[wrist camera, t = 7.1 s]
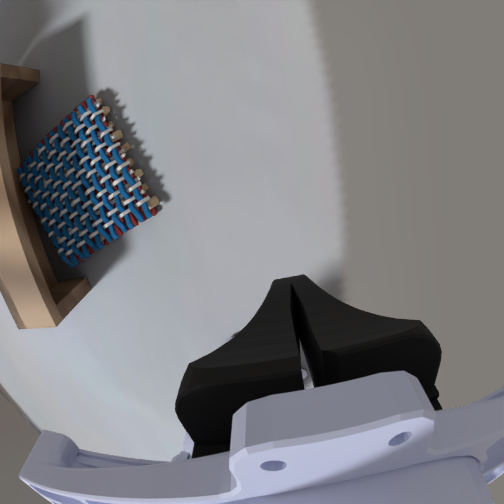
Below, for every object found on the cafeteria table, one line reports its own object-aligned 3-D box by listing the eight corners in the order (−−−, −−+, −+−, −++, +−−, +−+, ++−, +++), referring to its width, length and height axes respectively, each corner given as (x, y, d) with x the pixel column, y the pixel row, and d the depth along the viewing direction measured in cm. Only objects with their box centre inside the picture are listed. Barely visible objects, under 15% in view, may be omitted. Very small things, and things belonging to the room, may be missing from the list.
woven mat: (105, 89, 18) (91, 85, 16) (168, 207, 21) (159, 213, 19) (23, 165, 19) (9, 168, 17) (76, 265, 23) (64, 275, 21)
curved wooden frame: (91, 289, 23) (56, 326, 17) (54, 295, 23) (18, 329, 18) (38, 70, 16) (-9, 62, 10) (3, 95, 16) (-42, 95, 11)
